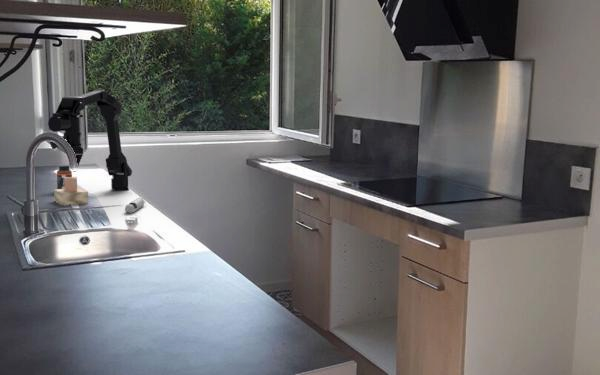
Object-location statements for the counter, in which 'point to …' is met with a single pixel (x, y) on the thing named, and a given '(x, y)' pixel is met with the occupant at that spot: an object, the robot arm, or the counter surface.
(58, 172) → the supplement bottle
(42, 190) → the counter surface
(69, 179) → the terracotta cube
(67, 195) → the beech block
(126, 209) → the torpedo
